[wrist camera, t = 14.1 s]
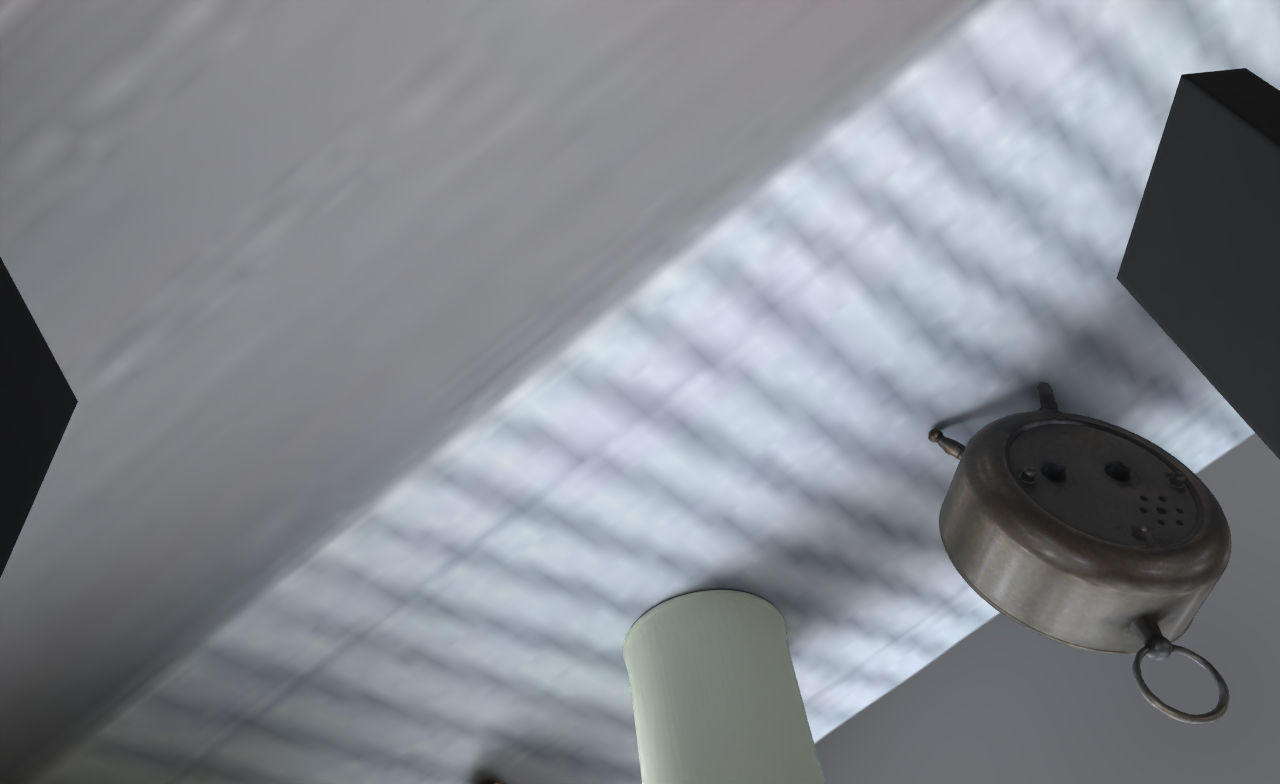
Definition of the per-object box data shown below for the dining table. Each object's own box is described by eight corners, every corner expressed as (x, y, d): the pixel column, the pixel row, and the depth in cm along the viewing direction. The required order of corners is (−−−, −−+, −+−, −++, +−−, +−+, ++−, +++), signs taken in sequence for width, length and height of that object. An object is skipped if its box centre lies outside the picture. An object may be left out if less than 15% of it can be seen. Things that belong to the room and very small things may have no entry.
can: (791, 670, 59) (846, 875, 50) (638, 701, 60) (665, 911, 50) (777, 573, 53) (837, 787, 44) (607, 608, 54) (632, 828, 44)
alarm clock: (896, 456, 48) (1035, 768, 36) (931, 368, 45) (1098, 680, 33) (1102, 459, 50) (1301, 757, 38) (1151, 375, 47) (1387, 673, 35)
